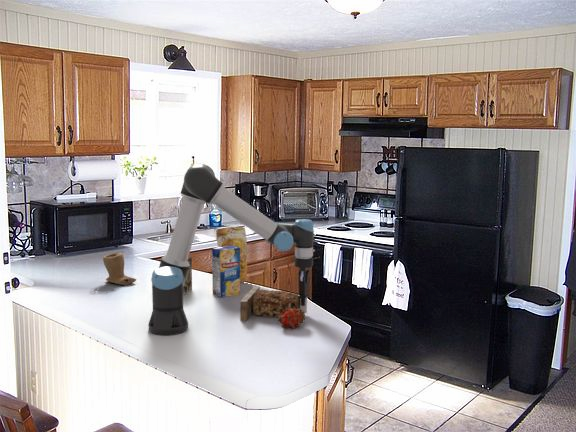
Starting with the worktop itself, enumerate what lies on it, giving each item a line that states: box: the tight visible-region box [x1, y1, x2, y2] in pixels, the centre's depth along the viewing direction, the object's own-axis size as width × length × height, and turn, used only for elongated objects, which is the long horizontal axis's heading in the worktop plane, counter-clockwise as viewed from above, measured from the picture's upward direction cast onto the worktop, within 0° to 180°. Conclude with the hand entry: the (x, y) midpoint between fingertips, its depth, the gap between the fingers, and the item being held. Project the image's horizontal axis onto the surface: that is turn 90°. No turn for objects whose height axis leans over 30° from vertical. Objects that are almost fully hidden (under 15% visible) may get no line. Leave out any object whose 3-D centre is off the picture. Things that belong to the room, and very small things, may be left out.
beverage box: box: [211, 245, 241, 298], centre depth 288 cm, size 7×11×22 cm, turn 129°
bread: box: [253, 289, 300, 319], centre depth 259 cm, size 19×11×10 cm, turn 76°
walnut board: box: [239, 286, 261, 322], centre depth 262 cm, size 24×2×8 cm, turn 170°
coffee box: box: [183, 256, 193, 296], centre depth 291 cm, size 9×6×16 cm
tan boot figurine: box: [102, 252, 137, 286], centre depth 307 cm, size 15×12×15 cm
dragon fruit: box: [277, 307, 306, 330], centre depth 243 cm, size 8×8×12 cm
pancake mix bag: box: [215, 225, 248, 283], centre depth 310 cm, size 7×19×28 cm, turn 129°
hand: (303, 312), depth 258 cm, fingers closed
